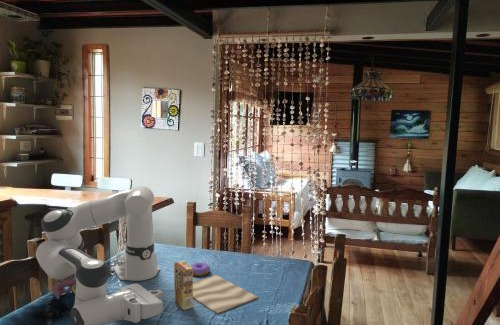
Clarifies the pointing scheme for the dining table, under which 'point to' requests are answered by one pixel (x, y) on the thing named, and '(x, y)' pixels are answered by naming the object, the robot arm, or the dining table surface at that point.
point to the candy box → (183, 285)
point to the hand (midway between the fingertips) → (161, 292)
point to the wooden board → (220, 294)
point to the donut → (200, 269)
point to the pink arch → (63, 286)
